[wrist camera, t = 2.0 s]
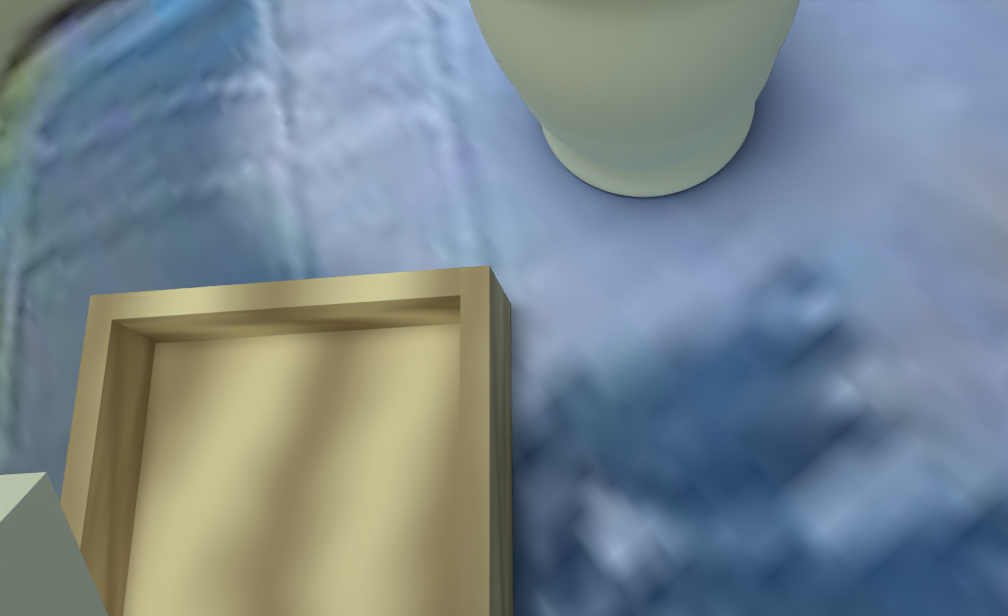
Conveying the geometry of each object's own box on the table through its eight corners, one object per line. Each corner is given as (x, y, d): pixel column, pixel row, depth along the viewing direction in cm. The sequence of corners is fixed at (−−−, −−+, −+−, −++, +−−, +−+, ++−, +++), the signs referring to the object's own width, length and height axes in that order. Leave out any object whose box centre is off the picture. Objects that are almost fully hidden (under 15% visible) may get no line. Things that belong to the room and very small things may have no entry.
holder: (510, 303, 36) (489, 265, 32) (514, 768, 31) (489, 787, 27) (149, 328, 38) (90, 295, 35) (95, 760, 33) (20, 776, 30)
